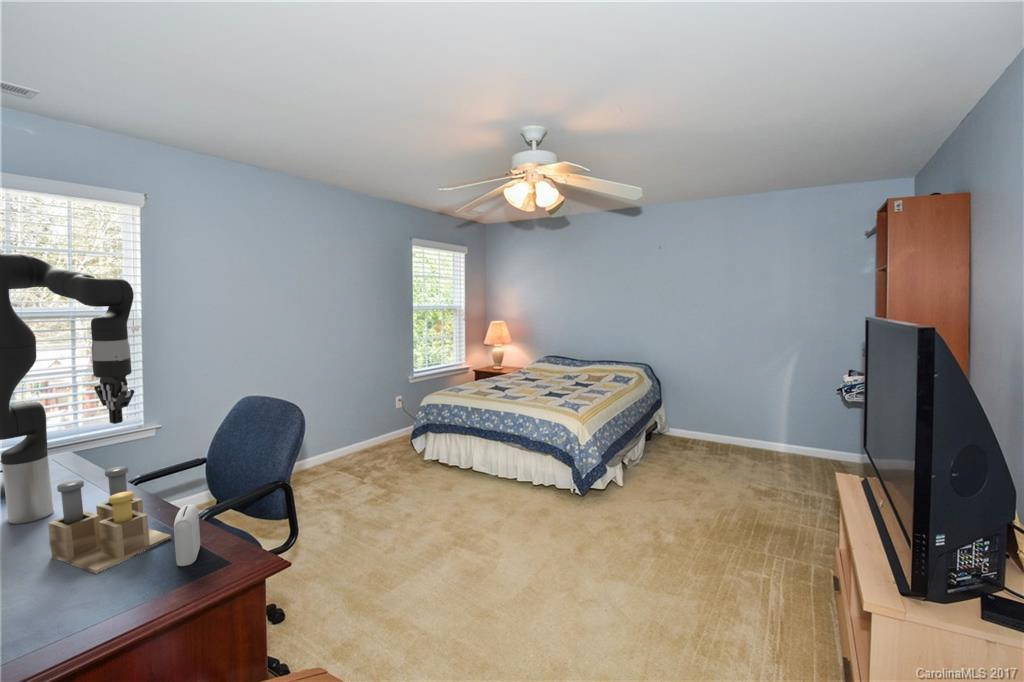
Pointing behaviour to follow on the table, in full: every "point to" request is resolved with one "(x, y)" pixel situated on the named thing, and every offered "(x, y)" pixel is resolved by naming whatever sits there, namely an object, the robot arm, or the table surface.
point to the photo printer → (187, 535)
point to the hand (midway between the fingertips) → (116, 422)
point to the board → (103, 538)
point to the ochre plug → (121, 506)
